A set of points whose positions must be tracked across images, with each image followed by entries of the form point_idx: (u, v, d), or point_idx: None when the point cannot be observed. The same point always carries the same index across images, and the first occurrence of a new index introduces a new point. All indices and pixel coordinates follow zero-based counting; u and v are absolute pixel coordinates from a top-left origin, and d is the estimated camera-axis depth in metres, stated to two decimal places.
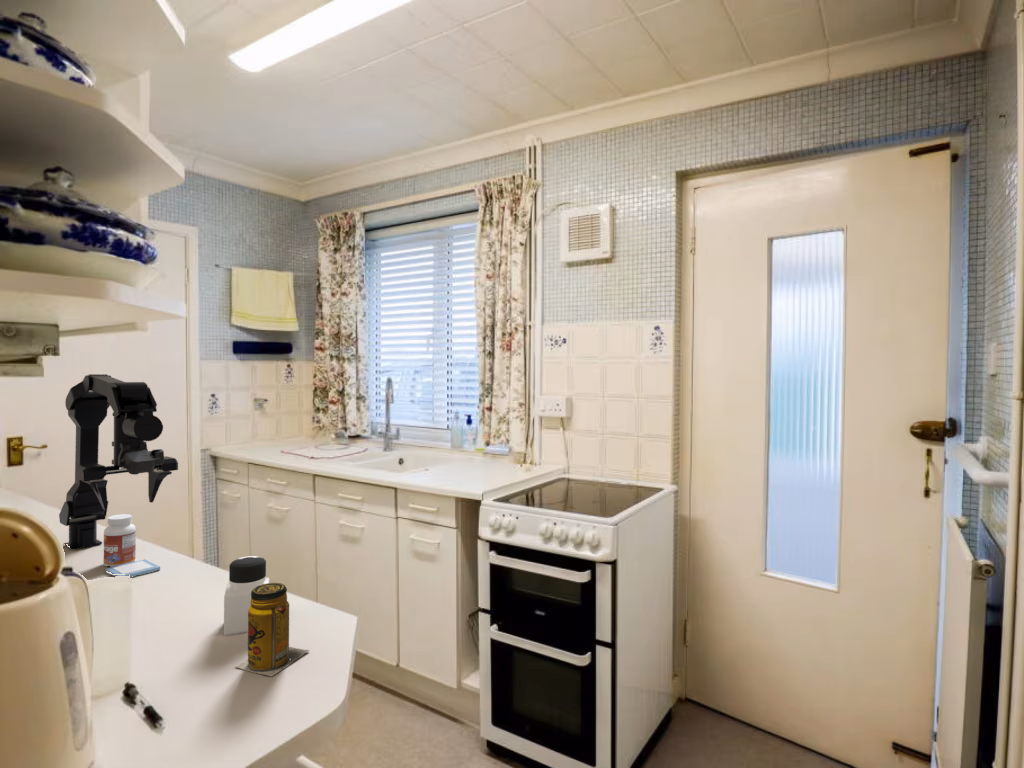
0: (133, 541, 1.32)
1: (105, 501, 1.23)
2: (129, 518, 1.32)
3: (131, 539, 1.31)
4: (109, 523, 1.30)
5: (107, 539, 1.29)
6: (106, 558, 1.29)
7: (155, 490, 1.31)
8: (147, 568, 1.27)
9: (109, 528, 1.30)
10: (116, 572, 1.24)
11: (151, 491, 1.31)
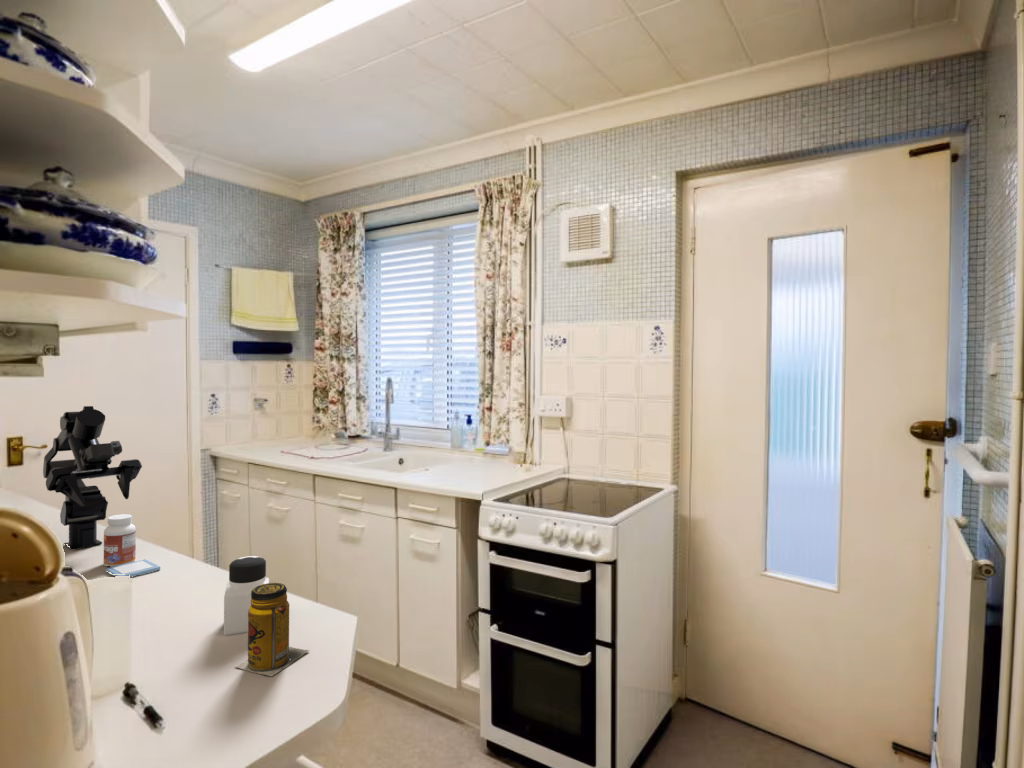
0: (133, 541, 1.32)
1: (81, 496, 1.32)
2: (129, 518, 1.32)
3: (131, 539, 1.31)
4: (109, 523, 1.30)
5: (107, 539, 1.29)
6: (106, 558, 1.29)
7: (127, 486, 1.41)
8: (147, 568, 1.27)
9: (109, 528, 1.30)
10: (116, 572, 1.24)
11: (124, 489, 1.41)
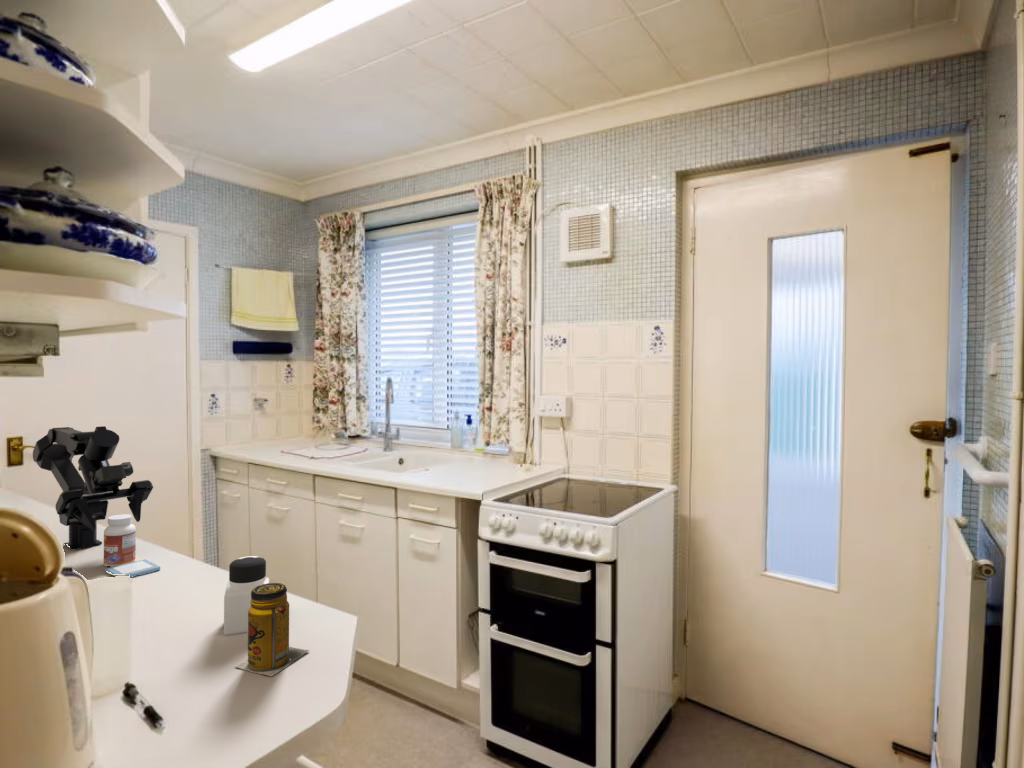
0: (133, 541, 1.32)
1: (91, 520, 1.29)
2: (129, 518, 1.32)
3: (131, 539, 1.31)
4: (109, 523, 1.30)
5: (107, 539, 1.29)
6: (106, 558, 1.29)
7: (138, 508, 1.37)
8: (147, 568, 1.27)
9: (109, 528, 1.30)
10: (116, 572, 1.24)
11: (135, 511, 1.37)
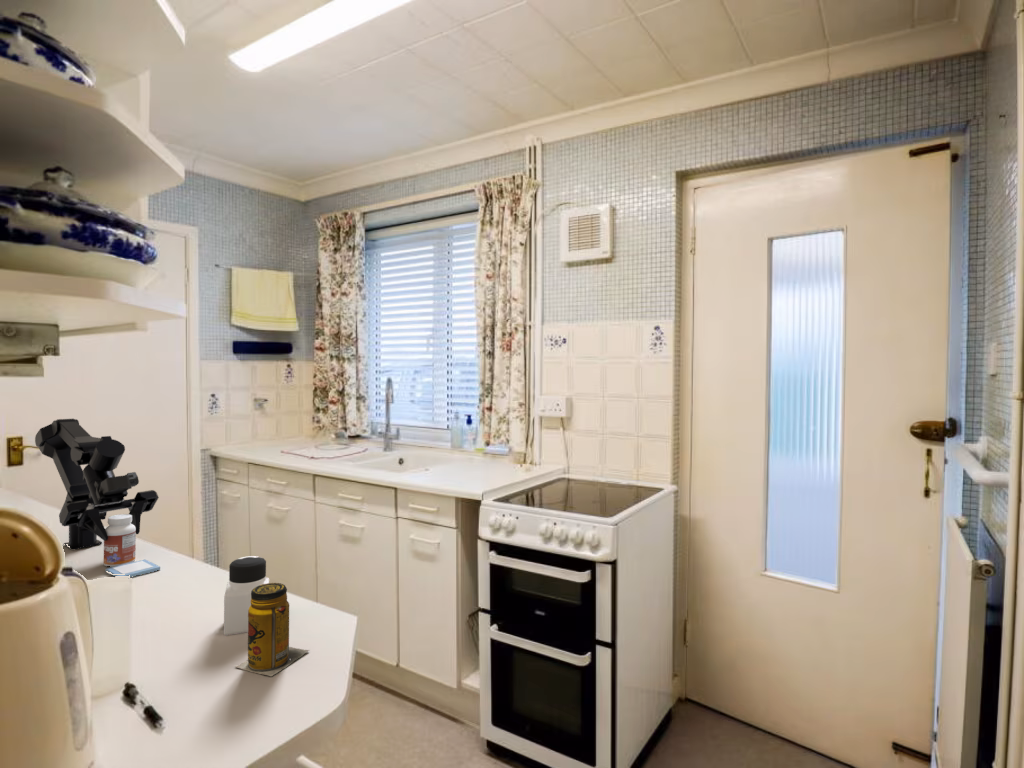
0: (133, 541, 1.32)
1: (103, 530, 1.29)
2: (129, 518, 1.32)
3: (131, 539, 1.31)
4: (109, 523, 1.30)
5: (107, 539, 1.29)
6: (106, 558, 1.29)
7: (137, 520, 1.35)
8: (147, 568, 1.27)
9: (109, 528, 1.30)
10: (116, 572, 1.24)
11: (134, 523, 1.35)
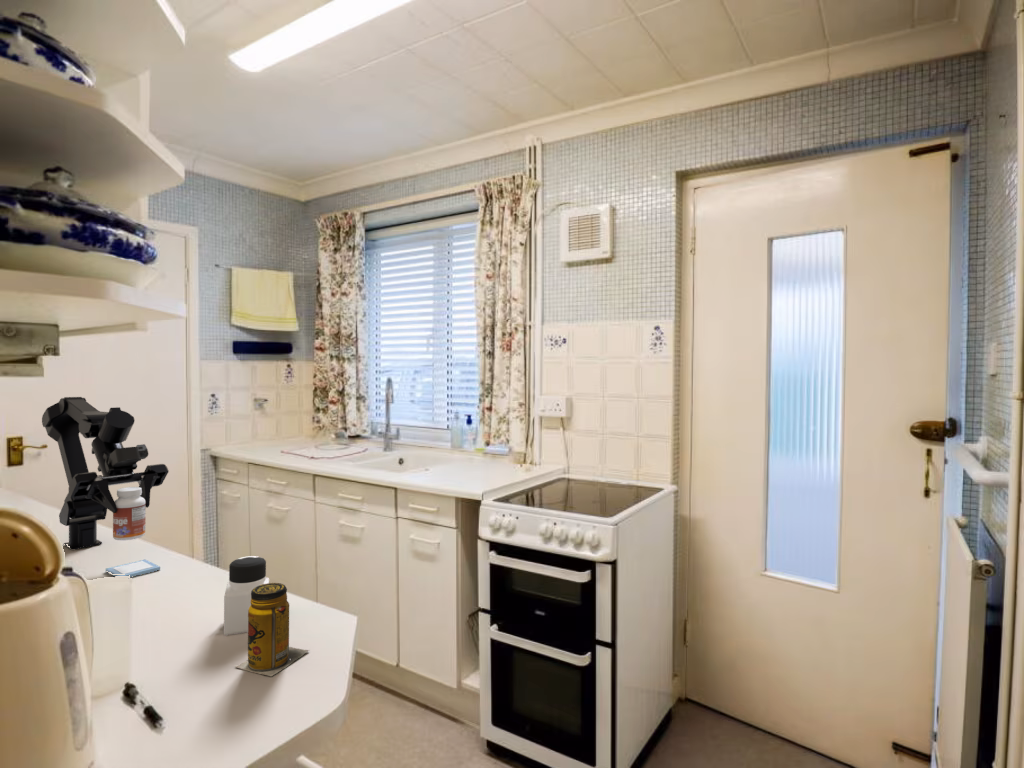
0: (143, 514, 1.29)
1: (112, 502, 1.25)
2: (139, 490, 1.28)
3: (141, 512, 1.28)
4: (118, 495, 1.26)
5: None
6: (115, 531, 1.26)
7: (147, 493, 1.31)
8: (147, 568, 1.27)
9: (118, 500, 1.26)
10: (116, 572, 1.24)
11: (144, 497, 1.31)
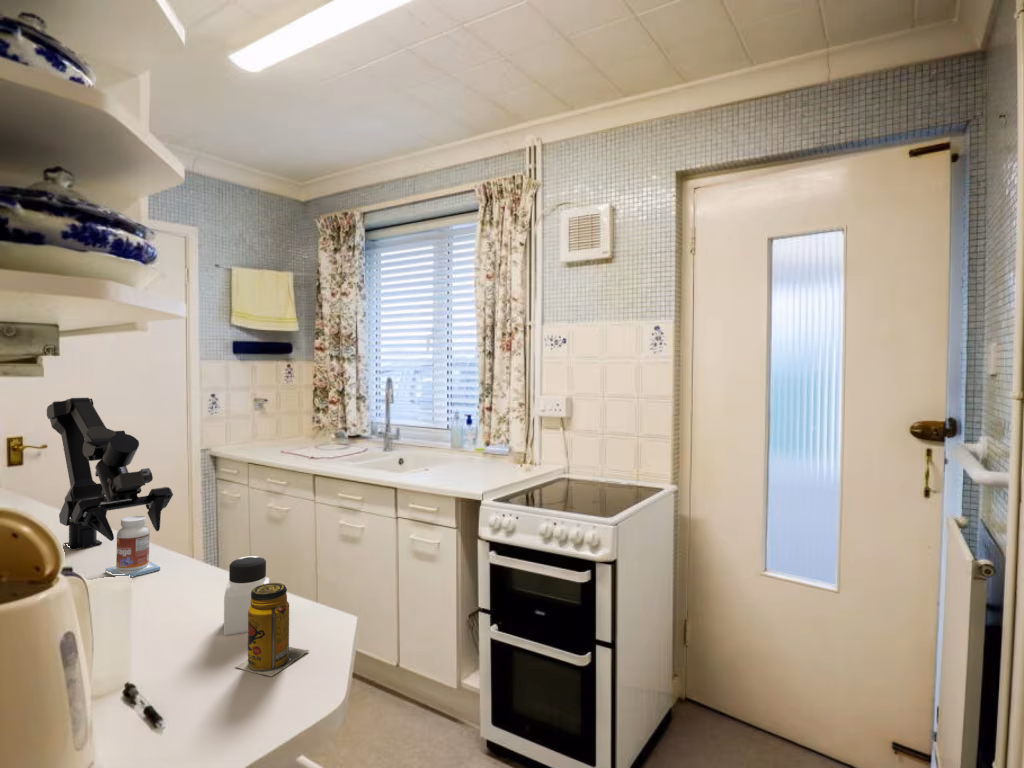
0: (147, 544, 1.27)
1: (109, 529, 1.23)
2: (143, 520, 1.27)
3: (145, 542, 1.27)
4: (122, 525, 1.25)
5: (120, 542, 1.24)
6: (119, 562, 1.24)
7: (158, 517, 1.31)
8: (147, 568, 1.27)
9: (122, 530, 1.25)
10: (116, 572, 1.24)
11: (154, 520, 1.31)
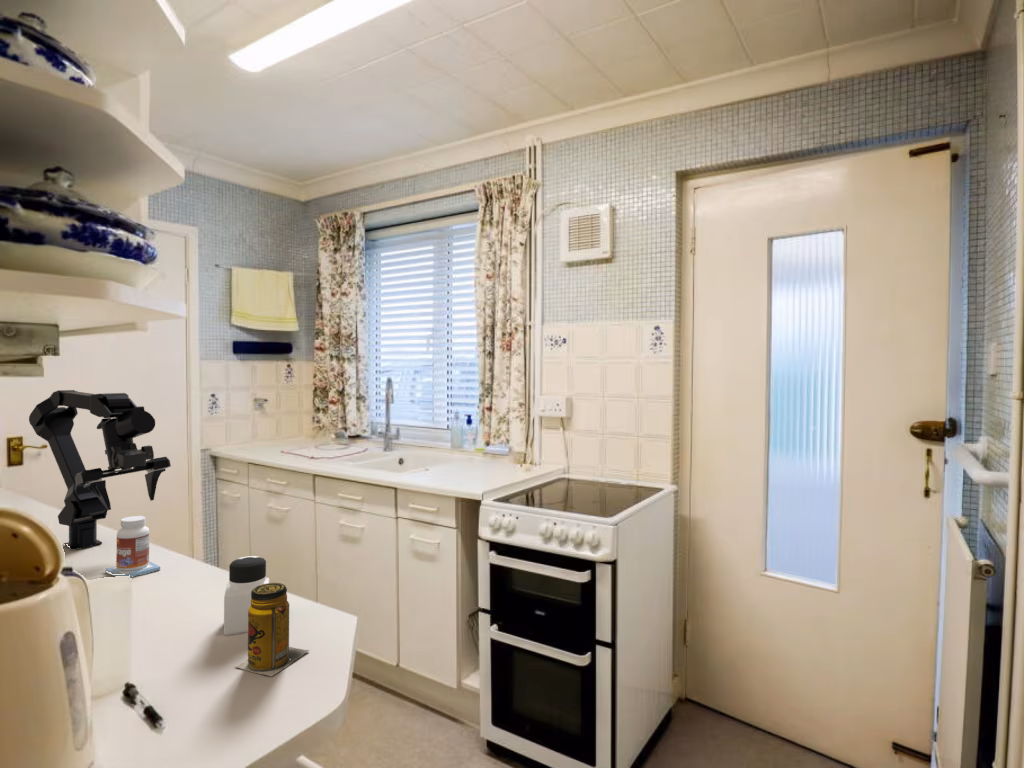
0: (147, 544, 1.27)
1: (107, 501, 1.33)
2: (142, 520, 1.27)
3: (145, 542, 1.27)
4: (122, 525, 1.25)
5: (120, 542, 1.24)
6: (118, 562, 1.24)
7: (153, 488, 1.41)
8: (147, 568, 1.27)
9: (122, 530, 1.25)
10: (116, 572, 1.24)
11: (150, 490, 1.41)
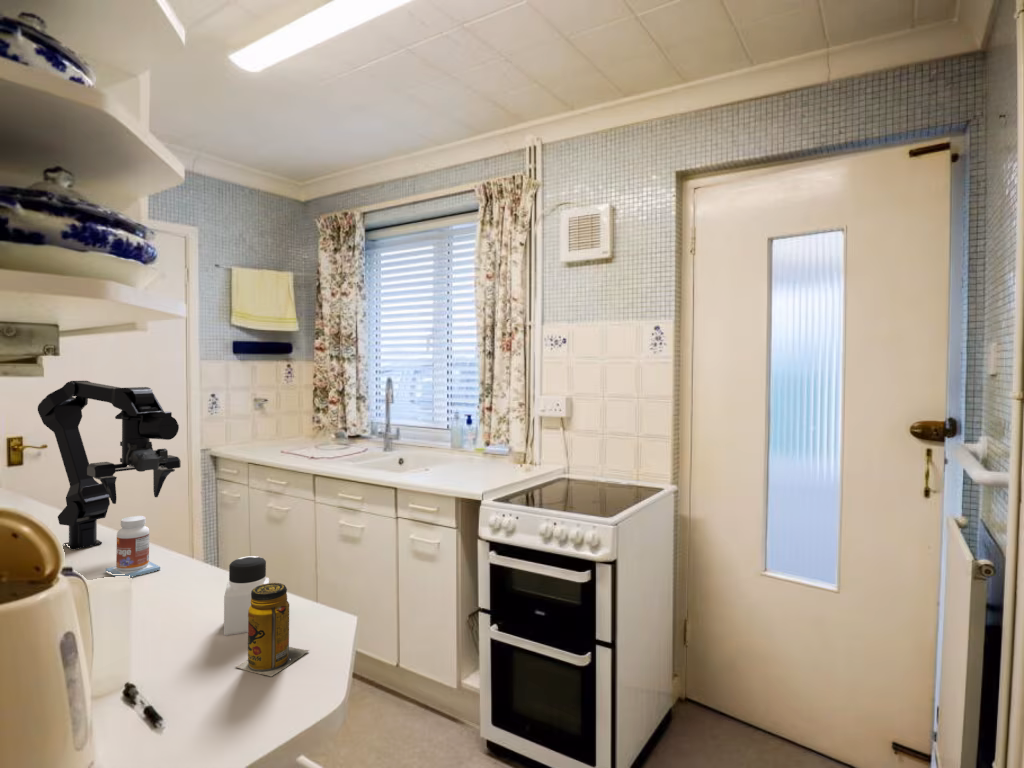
0: (147, 544, 1.27)
1: (114, 496, 1.35)
2: (142, 520, 1.27)
3: (145, 542, 1.27)
4: (122, 525, 1.25)
5: (120, 542, 1.24)
6: (118, 562, 1.24)
7: (159, 486, 1.43)
8: (147, 568, 1.27)
9: (122, 530, 1.25)
10: (116, 572, 1.24)
11: (156, 487, 1.43)
